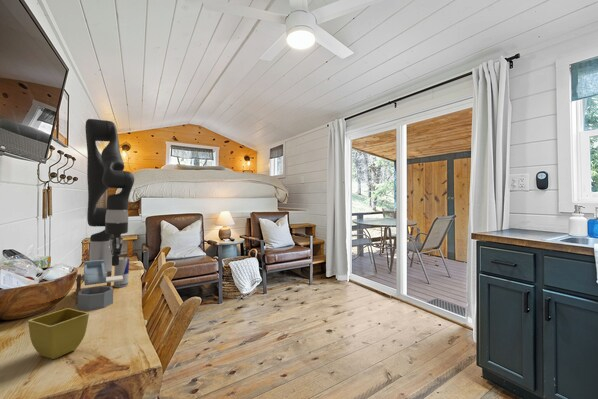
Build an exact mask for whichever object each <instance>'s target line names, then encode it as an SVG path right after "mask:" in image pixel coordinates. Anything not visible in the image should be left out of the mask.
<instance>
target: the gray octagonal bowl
mask: <svg viewBox="0 0 598 399" xmlns="http://www.w3.org/2000/svg"><path fill="white" fill-rule="evenodd" d="M98 286H99V287H95V286H90V287H91V288H88V287H86V288H87V289H84V290H81V291H78V304H77V310H79V311H82V310H83V311H92V310H99V309H104V308H107V307H108V306H111V305H112V304H113V303H114V288H113V287H114V286H111V287H109V286H103V285H98Z"/></svg>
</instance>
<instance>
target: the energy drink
mask: <svg viewBox="0 0 598 399" xmlns="http://www.w3.org/2000/svg"><path fill="white" fill-rule="evenodd" d="M113 270H114V274H113V276H120V275H122V276H123V281H116V282H113V287H114V288H124V287H128V286H129V277H130V276H129V275H130V273H129V272H130V258H129V257H127V256H119V265H117V266H114V269H113Z"/></svg>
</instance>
